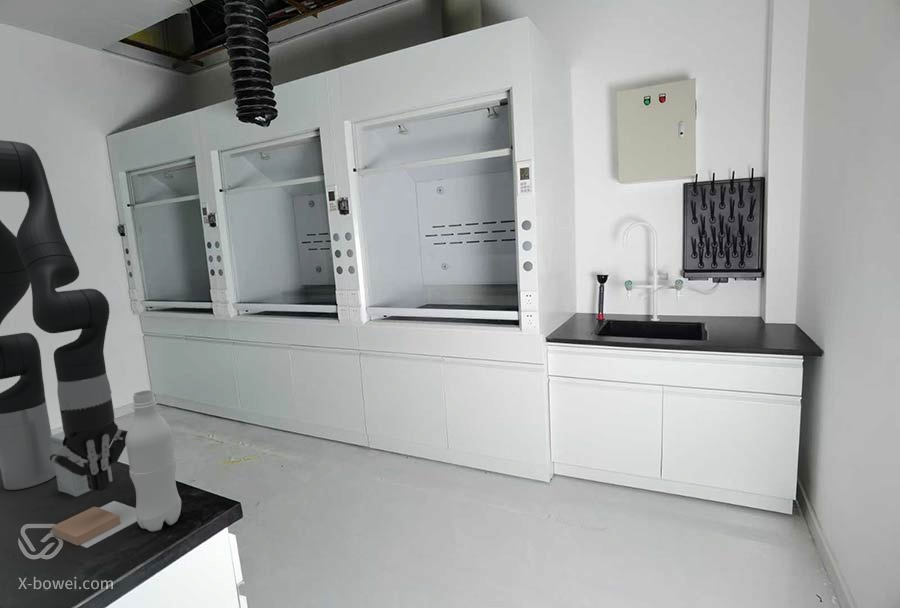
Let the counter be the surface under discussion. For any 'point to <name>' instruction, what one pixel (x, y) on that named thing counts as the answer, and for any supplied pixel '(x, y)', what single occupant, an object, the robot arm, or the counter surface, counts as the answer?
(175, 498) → the water bottle
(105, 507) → the mat
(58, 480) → the supplement box
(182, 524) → the counter surface
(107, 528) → the tile
